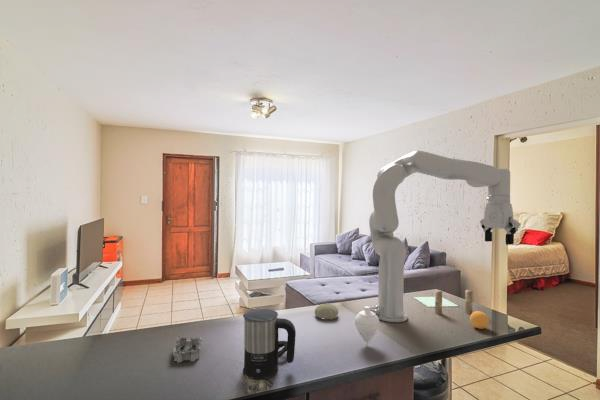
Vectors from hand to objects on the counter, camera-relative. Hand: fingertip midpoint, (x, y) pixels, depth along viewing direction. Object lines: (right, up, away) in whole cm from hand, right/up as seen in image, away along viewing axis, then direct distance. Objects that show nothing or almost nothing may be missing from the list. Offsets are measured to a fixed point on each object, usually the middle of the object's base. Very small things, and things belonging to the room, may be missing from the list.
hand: (498, 242), depth 128 cm
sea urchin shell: (-69, -29, -2) cm, 75 cm away
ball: (-15, -26, -12) cm, 32 cm away
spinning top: (-58, -29, -27) cm, 71 cm away
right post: (-10, -29, +4) cm, 31 cm away
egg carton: (-112, -28, -34) cm, 120 cm away
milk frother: (-88, -28, -39) cm, 101 cm away
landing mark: (-18, -30, +19) cm, 39 cm away
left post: (-23, -29, +3) cm, 37 cm away
